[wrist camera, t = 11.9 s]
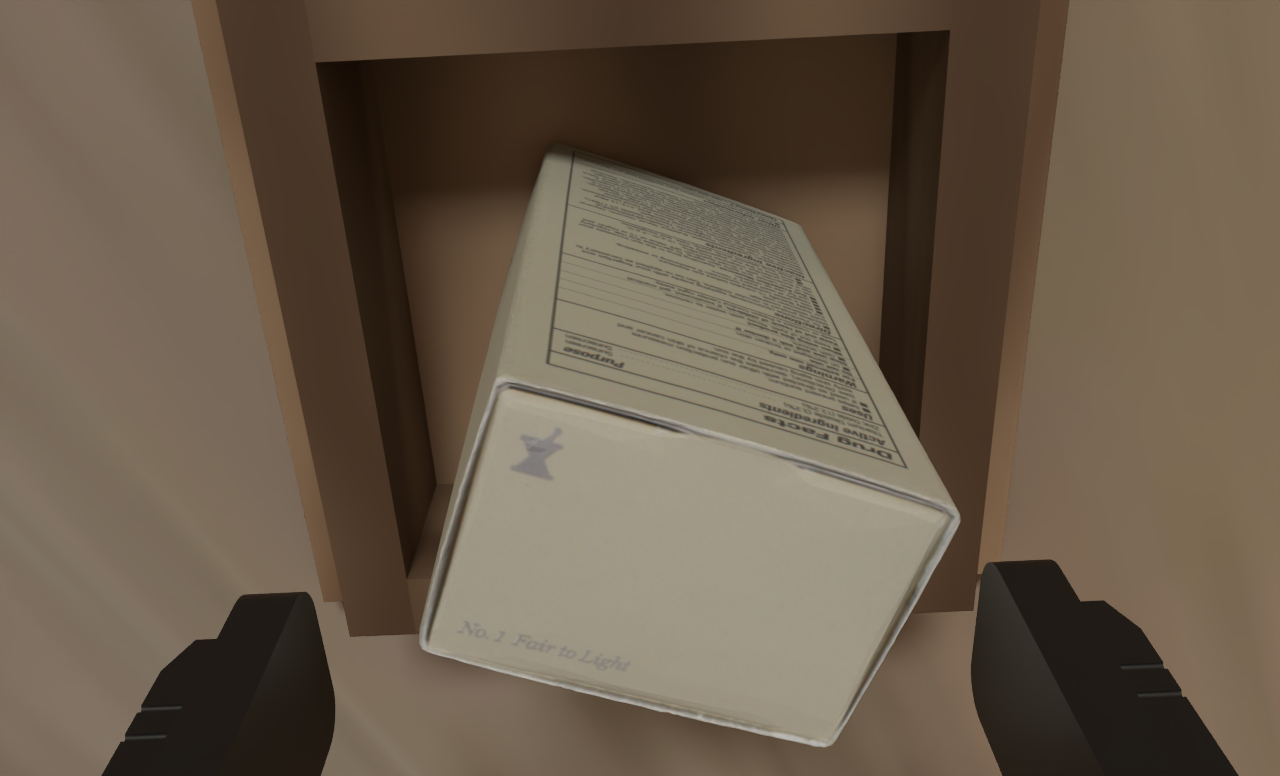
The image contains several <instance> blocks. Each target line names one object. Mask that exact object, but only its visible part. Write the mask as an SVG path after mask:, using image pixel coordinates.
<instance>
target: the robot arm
mask: <svg viewBox="0 0 1280 776" xmlns="http://www.w3.org/2000/svg"><path fill="white" fill-rule="evenodd" d="M971 681H972V690H973V697H974V702H975V706H976V710H977V714H978V717H979V719H980V722H981V724H982V727H983V729H984V732H985V734H986V737H987V739H988V741H989V744H990V746H991V749H992V751H993V754H994V756H995V759H996V761H997V763H998V766H999V768H1000V771H1001V773H1002V776H1238V774H1237V773H1236V771H1235V770H1234V768H1233V766H1232V765H1231V763H1230V762H1229V760H1228V759H1227V757H1226V756H1225V754H1224V753H1223V751H1222V750H1221V748H1220V747H1219V745H1218V744H1217V742H1216V741H1215V739H1214V738H1213V736H1212V735H1211V733H1210V732H1209V730H1208V729H1207V727H1206V726H1205V724H1204V723H1203V721H1202V720H1201V718H1200V717H1199V715H1198V714H1197V712H1196V711H1195V709H1194V708H1193V706H1192V705H1191V703H1190V702H1189V700H1188V699H1187V697H1183V696H1182V693H1181V688H1180V687H1179V685H1178V684H1177V682H1176V681H1175V679H1174V678H1173V676H1172V675H1171V673H1170V672H1169V670H1168V669H1164V667H1163V661H1162V660H1161V658H1160V657H1159V655H1158V654H1157V652H1156V651H1155V649H1154V648H1153V646H1152V645H1151V643H1150V642H1149V640H1148V639H1147V637H1146V636H1145V634H1144V633H1143V631H1142V630H1141V628H1139V627H1138V626H1137V625H1135V624H1134V623H1133V622H1131V621H1130V620H1129V619H1127V618H1126V617H1125V616H1123V615H1122V614H1121V613H1119V612H1118V611H1117V610H1115V609H1114V608H1113V607H1112V606H1110V605H1109V604H1108V603H1106V602H1105V601H1082V602H1080V600H1079V598H1078V597H1077V595H1076V593H1075V592H1074V590H1073V588H1072V587H1071V585H1070V583H1069V582H1068V580H1067V579H1066V577H1065V575H1064V574H1063V572H1062V570H1061V569H1060V567H1059V566H1058V564H1057V563H1056V562H1055V561H1053V560H1027V561H1005V562H988V563H987V564H986V565H985V566H984V569H983V572H982V577H981V584H980V592H979V601H978V610H977V618H976V627H975V635H974V644H973V652H972V661H971ZM141 707H142V710H141V713H137V714H136V716H135V718H134V719H133V721H132V723H131V725H130V726H129V728H128V730H127V732H126V734H125V741H124V742H120V744H119V746H118V748H117V749H116V751H115V753H114V755H113V756H112V758H111V760H110V762H109V763H108V765H107V767H106V769H105V771H104V772H103V774H102V776H321V773H322V770H323V767H324V764H325V761H326V758H327V755H328V752H329V749H330V746H331V742H332V738H333V733H334V725H335V696H334V690H333V685H332V680H331V676H330V671H329V667H328V663H327V658H326V654H325V650H324V645H323V641H322V636H321V632H320V628H319V623H318V619H317V615H316V610H315V606H314V603H313V600H312V598H311V596H310V595H309V594H308V593H307V592H291V593H270V594H248V595H242V596H241V597H240V598H239V599H238V600H237V602H236V603H235V605H234V607H233V609H232V611H231V613H230V615H229V617H228V618H227V620H226V622H225V624H224V626H223V628H222V630H221V632H220V634H219V636H218V638H217V639H205V640H195V641H194V642H193V643H192V644H191V645H190V646H188V647H187V648H186V649H185V650H184V651H183V652H182V653H181V654H179V655H178V656H177V657H176V658H175V659H174V660H173V661H172V662H170V663H169V664H168V665H167V666H166V667H165V668H164V669H163V670H162V671H161V672H160V674H159V675H158V677H157V679H156V681H155V682H154V684H153V686H152V688H151V689H150V691H149V693H148V695H147V697H146V698H145V700H144V702H143V704H142V705H141Z"/></svg>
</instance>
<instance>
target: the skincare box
mask: <svg viewBox="0 0 1280 776" xmlns="http://www.w3.org/2000/svg"><path fill="white" fill-rule="evenodd" d="M960 521H961V520H960V513H959V512H958V510H957V508H956V506H955V504H954V502H953V500H952V499H951V497H950V495H949V493H948V491H947V489H946V488H945V486H944V484H943V482H942V481H941V479H940V477H939V475H938V474H937V472H936V470H935V468H934V467H933V465H932V463H931V461H930V459H929V458H928V456H927V454H926V452H925V450H924V449H923V447H922V445H921V443H920V442H919V440H918V438H917V436H916V434H915V432H914V431H913V429H912V427H911V425H910V423H909V421H908V420H907V418H906V416H905V414H904V412H903V410H902V408H901V407H900V405H899V403H898V401H897V399H896V397H895V396H894V394H893V392H892V390H891V388H890V387H889V385H888V383H887V381H886V380H885V378H884V376H883V374H882V372H881V370H880V368H879V366H878V365H877V363H876V361H875V360H874V358H873V356H872V354H871V352H870V350H869V348H868V346H867V344H866V343H865V341H864V339H863V337H862V335H861V333H860V332H859V330H858V328H857V326H856V325H855V323H854V321H853V319H852V318H851V316H850V314H849V312H848V311H847V309H846V307H845V305H844V303H843V301H842V299H841V298H840V296H839V294H838V292H837V290H836V289H835V287H834V285H833V283H832V281H831V279H830V277H829V276H828V274H827V272H826V270H825V268H824V267H823V265H822V263H821V261H820V259H819V258H818V256H817V254H816V252H815V250H814V249H813V247H812V245H811V243H810V241H809V240H808V238H807V236H806V234H805V232H804V231H803V229H802V227H801V226H800V225H799V224H797V223H795V222H792V221H790V220H787V219H784V218H782V217H779V216H776V215H774V214H771V213H768V212H765V211H762V210H760V209H757V208H754V207H752V206H749V205H746V204H743V203H740V202H738V201H735V200H732V199H729V198H726V197H723V196H720V195H717V194H714V193H712V192H709V191H706V190H703V189H700V188H697V187H694V186H691V185H689V184H686V183H682V182H679V181H676V180H673V179H670V178H667V177H664V176H661V175H658V174H655V173H653V172H650V171H647V170H644V169H641V168H638V167H634V166H631V165H628V164H625V163H622V162H619V161H616V160H613V159H610V158H607V157H603V156H600V155H597V154H593V153H590V152H587V151H583V150H580V149H577V148H574V147H571V146H568V145H564V144H560V143H555V142H553V143H550V144H549V145H548V147H547V149H546V152H545V155H544V158H543V161H542V164H541V167H540V170H539V173H538V176H537V179H536V182H535V185H534V188H533V191H532V194H531V197H530V200H529V204H528V207H527V210H526V213H525V217H524V220H523V223H522V226H521V230H520V233H519V236H518V239H517V243H516V246H515V249H514V253H513V256H512V260H511V263H510V267H509V271H508V274H507V278H506V282H505V285H504V289H503V293H502V297H501V301H500V304H499V308H498V312H497V315H496V319H495V323H494V327H493V331H492V335H491V339H490V344H489V348H488V352H487V356H486V360H485V363H484V367H483V371H482V375H481V379H480V382H479V386H478V390H477V394H476V398H475V402H474V406H473V410H472V414H471V418H470V422H469V426H468V430H467V434H466V438H465V442H464V446H463V450H462V454H461V458H460V462H459V466H458V470H457V474H456V478H455V482H454V486H453V490H452V494H451V498H450V502H449V507H448V511H447V515H446V519H445V523H444V527H443V531H442V536H441V540H440V544H439V548H438V552H437V557H436V561H435V565H434V569H433V573H432V578H431V582H430V586H429V590H428V595H427V599H426V603H425V608H424V612H423V616H422V621H421V625H420V630H419V643H420V645H421V648H422V649H423V650H424V651H426V652H429V653H432V654H435V655H438V656H442V657H446V658H450V659H454V660H458V661H461V662H464V663H467V664H471V665H475V666H479V667H483V668H486V669H490V670H493V671H496V672H500V673H503V674H509V675H512V676H516V677H521V678H525V679H529V680H533V681H537V682H541V683H544V684H548V685H552V686H558V687H562V688H565V689H570V690H573V691H577V692H581V693H585V694H590V695H594V696H598V697H602V698H605V699H609V700H613V701H617V702H624V703H629V704H633V705H637V706H642V707H645V708H649V709H652V710H655V711H658V712H668V713H671V714H673V715H679V716H683V717H687V718H692V719H696V720H700V721H704V722H708V723H712V724H716V725H721V726H726V727H732V728H737V729H741V730H745V731H749V732H753V733H757V734H762V735H767V736H771V737H775V738H779V739H783V740H789V741H794V742H798V743H802V744H808V745H811V746H815V747H828V746H830V745H832V744H833V743H834V742H835V740H836V739H837V738H838V736H839V735H840V733H841V731H842V729H843V728H844V726H845V725H846V723H847V721H848V719H849V718H850V716H851V714H852V712H853V711H854V709H855V707H856V705H857V704H858V702H859V700H860V699H861V697H862V695H863V694H864V692H865V691H866V689H867V687H868V686H869V684H870V682H871V680H872V678H873V677H874V675H875V673H876V671H877V670H878V668H879V667H880V665H881V663H882V662H883V660H884V658H885V656H886V654H887V653H888V651H889V650H890V648H891V646H892V645H893V643H894V641H895V639H896V637H897V635H898V633H899V632H900V630H901V628H902V627H903V625H904V623H905V622H906V620H907V618H908V617H909V615H910V613H911V611H912V610H913V608H914V606H915V605H916V603H917V601H918V599H919V598H920V596H921V594H922V592H923V590H924V588H925V586H926V584H927V583H928V581H929V579H930V577H931V575H932V573H933V571H934V569H935V568H936V566H937V564H938V563H939V561H940V559H941V558H942V556H943V554H944V552H945V551H946V549H947V547H948V545H949V543H950V541H951V540H952V538H953V536H954V534H955V532H956V530H957V528H958V526H959V524H960Z"/></svg>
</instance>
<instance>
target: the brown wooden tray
mask: <svg viewBox="0 0 1280 776" xmlns="http://www.w3.org/2000/svg"><path fill="white" fill-rule="evenodd" d="M191 3H192V8H193V12H194V17H195V21H196V26H197V30H198V35H199V39H200V44H201V48H202V53H203V57H204V62H205V67H206V71H207V76H208V80H209V85H210V89H211V94H212V98H213V103H214V107H215V112H216V116H217V121H218V125H219V130H220V134H221V139H222V143H223V148H224V152H225V157H226V161H227V166H228V171H229V175H230V180H231V184H232V189H233V193H234V198H235V202H236V207H237V211H238V216H239V220H240V225H241V229H242V234H243V238H244V243H245V247H246V252H247V256H248V261H249V265H250V270H251V274H252V279H253V284H254V288H255V293H256V297H257V302H258V306H259V311H260V315H261V320H262V324H263V329H264V333H265V338H266V342H267V347H268V351H269V356H270V360H271V365H272V369H273V374H274V378H275V383H276V387H277V392H278V397H279V401H280V406H281V410H282V415H283V419H284V424H285V428H286V433H287V437H288V442H289V446H290V451H291V455H292V460H293V464H294V469H295V473H296V478H297V482H298V487H299V491H300V496H301V500H302V505H303V510H304V514H305V519H306V523H307V528H308V532H309V537H310V541H311V546H312V550H313V555H314V559H315V564H316V568H317V573H318V577H319V582H320V586H321V591H322V595H323V600H324V602H335V601H343V606H344V610H345V615H346V620H347V624H348V629H349V634H350V637H356V636H379V635H403V634H419V630H420V625H421V621H422V616H423V612H424V608H425V603H426V599H427V595H428V590H429V586H430V582H431V578H432V573H433V569H434V565H435V561H436V557H437V552H438V548H439V544H440V540H441V536H442V531H443V527H444V523H445V519H446V515H447V511H448V507H449V502H450V498H451V494H452V490H453V486H454V482H455V478H456V474H457V470H458V466H459V462H460V458H461V454H462V450H463V446H464V442H465V438H466V434H467V430H468V426H469V422H470V418H471V414H472V410H473V406H474V402H475V398H476V394H477V390H478V386H479V382H480V379H481V375H482V371H483V367H484V363H485V360H486V356H487V352H488V348H489V344H490V339H491V335H492V331H493V327H494V323H495V319H496V315H497V312H498V308H499V304H500V301H501V297H502V293H503V289H504V285H505V282H506V278H507V274H508V271H509V267H510V263H511V260H512V256H513V253H514V249H515V246H516V243H517V239H518V236H519V233H520V230H521V226H522V223H523V220H524V217H525V213H526V210H527V207H528V204H529V200H530V197H531V194H532V191H533V188H534V185H535V182H536V179H537V176H538V173H539V170H540V167H541V164H542V161H543V158H544V155H545V152H546V149H547V147H548V145H549V144H550V143H553V142H555V143H560V144H564V145H568V146H571V147H574V148H577V149H580V150H583V151H587V152H590V153H593V154H597V155H600V156H603V157H607V158H610V159H613V160H616V161H619V162H622V163H625V164H628V165H631V166H634V167H638V168H641V169H644V170H647V171H650V172H653V173H655V174H658V175H661V176H664V177H667V178H670V179H673V180H676V181H679V182H682V183H686V184H689V185H691V186H694V187H697V188H700V189H703V190H706V191H709V192H712V193H714V194H717V195H720V196H723V197H726V198H729V199H732V200H735V201H738V202H740V203H743V204H746V205H749V206H752V207H754V208H757V209H760V210H762V211H765V212H768V213H771V214H774V215H776V216H779V217H782V218H784V219H787V220H790V221H792V222H795V223H797V224H799V225H800V226H801V227H802V229H803V231H804V232H805V234H806V236H807V238H808V240H809V241H810V243H811V245H812V247H813V249H814V250H815V252H816V254H817V256H818V258H819V259H820V261H821V263H822V265H823V267H824V268H825V270H826V272H827V274H828V276H829V277H830V279H831V281H832V283H833V285H834V287H835V289H836V290H837V292H838V294H839V296H840V298H841V299H842V301H843V303H844V305H845V307H846V309H847V311H848V312H849V314H850V316H851V318H852V319H853V321H854V323H855V325H856V326H857V328H858V330H859V332H860V333H861V335H862V337H863V339H864V341H865V343H866V344H867V346H868V348H869V350H870V352H871V354H872V356H873V358H874V360H875V361H876V363H877V365H878V366H879V368H880V370H881V372H882V374H883V376H884V378H885V380H886V381H887V383H888V385H889V387H890V388H891V390H892V392H893V394H894V396H895V397H896V399H897V401H898V403H899V405H900V407H901V408H902V410H903V412H904V414H905V416H906V418H907V420H908V421H909V423H910V425H911V427H912V429H913V431H914V432H915V434H916V436H917V438H918V440H919V442H920V443H921V445H922V447H923V449H924V450H925V452H926V454H927V456H928V458H929V459H930V461H931V463H932V465H933V467H934V468H935V470H936V472H937V474H938V475H939V477H940V479H941V481H942V482H943V484H944V486H945V488H946V489H947V491H948V493H949V495H950V497H951V499H952V500H953V502H954V504H955V506H956V508H957V510H958V512H959V513H960V520H961V521H960V524H959V526H958V528H957V530H956V532H955V534H954V536H953V538H952V540H951V541H950V543H949V545H948V547H947V549H946V551H945V552H944V554H943V556H942V558H941V559H940V561H939V563H938V564H937V566H936V568H935V569H934V571H933V573H932V575H931V577H930V579H929V581H928V583H927V584H926V586H925V588H924V590H923V592H922V594H921V596H920V598H919V599H918V601H917V603H916V605H915V606H914V608H913V610H912V611H911V613H929V612H953V611H973V609H974V600H975V591H976V582H977V574H982V572H983V569H984V566H985V565H986V564H987V563H988V562H1001V557H1002V548H1003V540H1004V532H1005V524H1006V516H1007V507H1008V499H1009V491H1010V483H1011V475H1012V466H1013V458H1014V450H1015V442H1016V433H1017V425H1018V417H1019V409H1020V401H1021V392H1022V384H1023V376H1024V368H1025V360H1026V351H1027V343H1028V335H1029V327H1030V319H1031V310H1032V302H1033V294H1034V286H1035V277H1036V269H1037V261H1038V253H1039V245H1040V236H1041V228H1042V220H1043V212H1044V204H1045V195H1046V187H1047V179H1048V171H1049V163H1050V154H1051V146H1052V138H1053V130H1054V121H1055V113H1056V105H1057V97H1058V89H1059V80H1060V72H1061V64H1062V56H1063V48H1064V39H1065V31H1066V23H1067V15H1068V7H1069V0H191Z"/></svg>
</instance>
